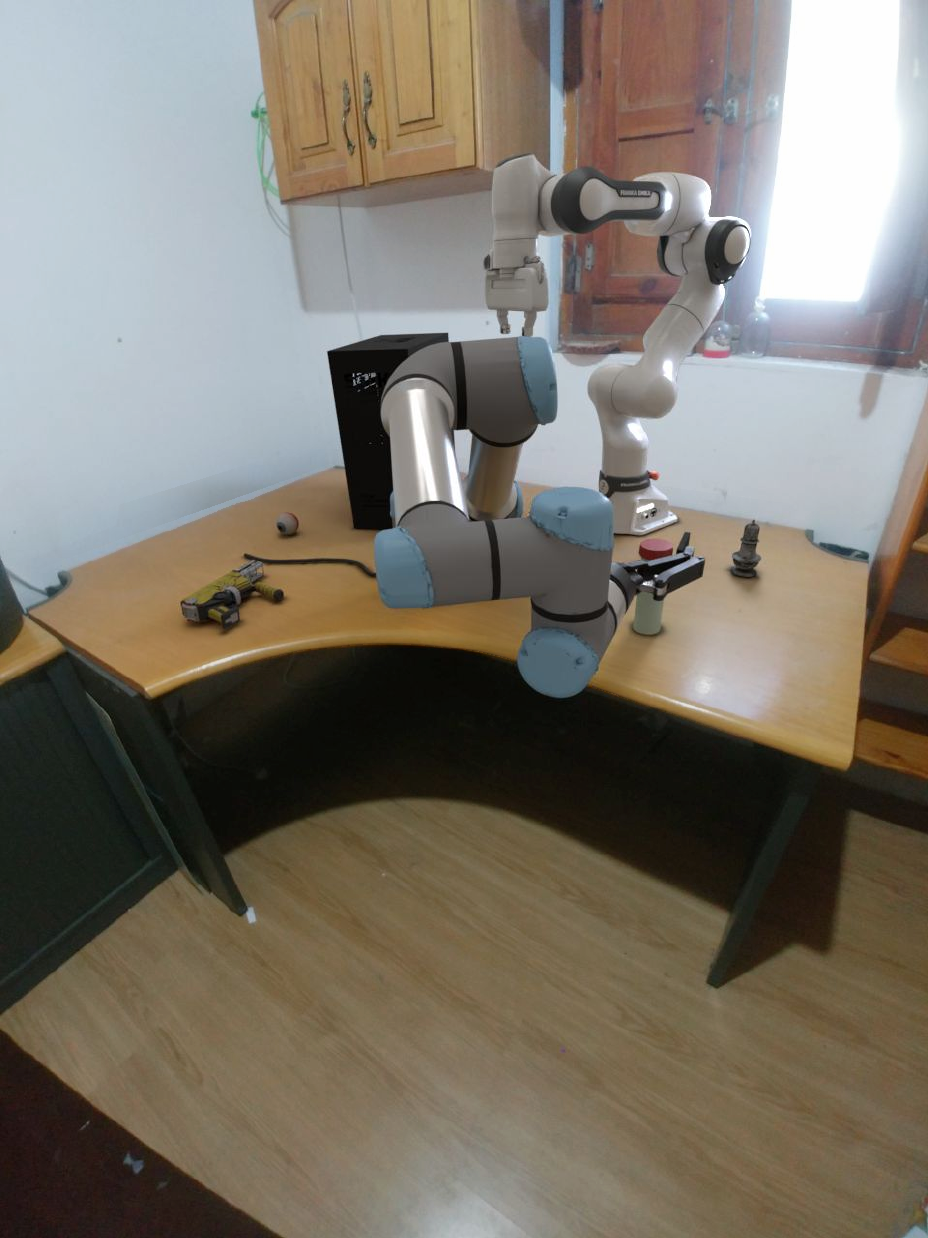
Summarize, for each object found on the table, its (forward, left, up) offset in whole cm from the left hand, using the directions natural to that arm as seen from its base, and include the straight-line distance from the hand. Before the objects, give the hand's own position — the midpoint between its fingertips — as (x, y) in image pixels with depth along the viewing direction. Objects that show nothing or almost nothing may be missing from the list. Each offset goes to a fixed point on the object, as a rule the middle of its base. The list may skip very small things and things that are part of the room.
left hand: (636, 535), depth 86 cm
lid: (0, +20, -10) cm, 22 cm away
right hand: (-37, +46, +22) cm, 63 cm away
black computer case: (-79, +64, -26) cm, 105 cm away
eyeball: (-99, +34, -26) cm, 108 cm away
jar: (0, +20, -26) cm, 33 cm away
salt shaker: (+14, +51, -26) cm, 59 cm away
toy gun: (-81, -1, -26) cm, 85 cm away
